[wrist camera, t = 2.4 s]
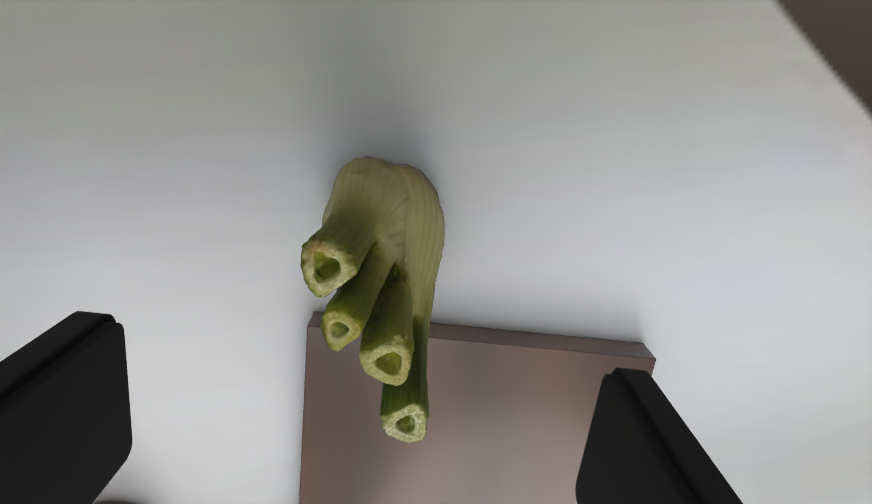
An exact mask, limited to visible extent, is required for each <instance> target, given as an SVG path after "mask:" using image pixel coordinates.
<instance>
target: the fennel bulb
mask: <svg viewBox="0 0 872 504" xmlns="http://www.w3.org/2000/svg"><path fill="white" fill-rule="evenodd" d="M443 246H444V217H443V211H442V208H441V206H440V204H439V199H438V195H437V192H436V189H435V188H434V186H433V184H432V183H431V182H430V181H429V180H428V178H427V177H426V176H425V175H424V174H423V173H422V172H421V171H420V170H418V169H416V168H413V167H411V166H409V165H404V164H400V165H394V164H389V163H387V162H386V161H384V160H382V159H380V158H374V157H368V156H366V157H362V158H357V159H354V160H353V161H351V162H349V163H347V164H346V165H344V166H343V167H342V168H341V170H340V171H339V173H338V175H337V177H336V180H335V183H334V186H333V190H332V194H331V197H330V199H329V201H328V204H327V206H326V208H325V211H324V215H323V219H322V228H321V229H320V230H318V231H317V232H316V233H315V234H314V235H313V236H311V237H310V238H309V240H308V241H307V242H305V243H304V244H303V246H302V248H303V249H302V253H301V269H302V272H303V275H304V281H305V282H306V284H307V285H308V288H309V290H311V291H312V292H313V294H315V295H316V296H317V297H325V296H328V295H329V294H330V293H331V292H332V291H333V290H335V289H336V288H337V292H336V293H335V295H334V296H333V298H332V299H331V300H330V302H329V303H328V304H327V306H326V311H325V312H324V314H323V316H322V319H321V332H322V335H323V337H324V340H325V342H326V344H327V346H328V347H329V348H331V349H332V350H335V351H339V350H341V349H342V348H343V347H344V346H346V345H347V344H349V343H350V342H352V341H353V340H355V339H356V338H357V337H359V336H360V334H361V333H362V336H361V343H360V350H359V352H360V353H359V358H360V362H361V365H362V367H363V369H364V371H365V372H366V374H368V375H369V376H372V377H373V378H375V379H377V380H379V381H382V382H383V387H382V398H381V407H380V417H381V421H382V429H383V430H384V432H385V433H386V434H387V435H388V436H391V437H394V438H395V439H397V440H399V441H402V442H406V443H414V442H417V441H421V440H423V439H424V438H425V435H426V432H427V419H428V418H429V400H428V382H427V345H428V333H429V325H430V318H431V312H432V306H433V299H434V291H435V281H436V277H437V273H438V268H439V264H440V261H441V257H442V249H443Z"/></svg>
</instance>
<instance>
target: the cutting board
mask: <svg viewBox="0 0 872 504" xmlns="http://www.w3.org/2000/svg"><path fill="white" fill-rule="evenodd" d="M323 314H324V313H321V312H314V313H313V315H312V317H311V319H310V322H309V324H308V326H307V344H306V366H305V387H304V409H303V431H302V453H301V475H300V497H299V504H577V501H576V493H575V487H576V480H577V476H578V472H579V468H580V464H581V461H582V457H583V453H584V449H585V445H586V441H587V437H588V433H589V429H590V425H591V421H592V418H593V414H594V410H595V406H596V402H597V398H598V394H599V390H600V386H601V382H602V379H603V377H604V375H605V374H612V372H613V370H614V369H615V368H617V367H619V368H629V369H638V370H646V371H647V372H648V373H649V374H650V375H651V376H652V372H653V369H654V365H655V362H656V358H655V357H654V356H653V355H652V353H651V352H650V351H649V350H648V348H647V347H646V346H645V345H644V344H643V343H633V342H622V341H612V340H601V339H591V338H581V337H570V336H560V335H549V334H539V333H529V332H518V331H508V330H497V329H487V328H477V327H466V326H456V325H445V324H435V323H430V325H429V333H428V345H427V382H428V400H429V418H428V419H427V432H426V435H425V438H424V439H423V440H421V441H417V442H414V443H406V442H402V441H399V440H397V439H395V438H394V437H391V436H388V435H387V434H386V433H385V432H384V430H383V429H382V421H381V417H380V407H381V398H382V387H383V382H382V381H379V380H377V379H375V378H373V377H372V376H369V375H368V374H366V372H365V371H364V369H363V367H362V365H361V362H360V358H359V353H360V352H359V350H360V343H361V336H362V333H361V334H360V336H359V337H357V338H356V339H355V340H353V341H352V342H350V343H349V344H347V345H346V346H344V347H343V348H342V349H341V350H339V351H335V350H332V349H331V348H329V347H328V346H327V344H326V342H325V340H324V337H323V335H322V332H321V319H322V316H323Z"/></svg>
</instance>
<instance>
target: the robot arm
mask: <svg viewBox="0 0 872 504" xmlns="http://www.w3.org/2000/svg"><path fill="white" fill-rule="evenodd" d="M131 447H132V428H131V415H130V402H129V389H128V375H127V362H126V349H125V336H124V328H123V326H122V324H120V323H116V320H115V319H114V317H113V316H112V315H110V314H101V313H92V312H82V311H77V312H75V313H73V314H71V315H70V316H68V317H67V318H65V319H64V320H62V321H61V322H59V323H58V324H56V325H55V326H53V327H52V328H50V329H49V330H47V331H46V332H44V333H43V334H41V335H40V336H38V337H37V338H35V339H34V340H32V341H31V342H29V343H28V344H26V345H25V346H23V347H22V348H20V349H19V350H17V351H16V352H14V353H13V354H11V355H10V356H8V357H7V358H5V359H4V360H3V361H1V362H0V504H92V503H93V502H94V500H95V499H96V498H97V497H98V495H99V494H100V493H101V491H102V490H103V489H104V488H105V486H106V485H107V484H108V483H109V481H110V480H111V479H112V478H113V476H114V475H115V474H116V472H117V471H118V470H119V469H120V467H121V466H122V465H123V464H124V462H125V461H126V459H127V458H128V456H129V453H130V450H131ZM575 493H576V501H577V504H743V503H742V502H741V500H740V499H739V498H738V496H737V495H736V493H735V492H734V491H733V489H732V488H731V486H730V485H729V484H728V482H727V481H726V479H725V478H724V477H723V475H722V474H721V473H720V471H719V470H718V468H717V467H716V466H715V464H714V463H713V461H712V460H711V459H710V457H709V456H708V454H707V453H706V452H705V450H704V449H703V448H702V446H701V445H700V443H699V442H698V441H697V439H696V438H695V436H694V435H693V434H692V432H691V431H690V430H689V428H688V427H687V425H686V424H685V423H684V421H683V420H682V418H681V417H680V416H679V414H678V413H677V411H676V410H675V409H674V407H673V406H672V405H671V403H670V402H669V400H668V399H667V398H666V396H665V395H664V393H663V392H662V391H661V389H660V388H659V386H658V385H657V384H656V382H655V381H654V380H653V378H652V377H651V375H650V374H649V373H648V372H647V371H646V370H638V369H629V368H619V367H617V368H615V369H614V370H613V372H612V374H605V375H604V377H603V379H602V382H601V386H600V390H599V394H598V398H597V402H596V406H595V410H594V414H593V418H592V421H591V425H590V429H589V433H588V437H587V441H586V445H585V449H584V453H583V457H582V461H581V464H580V468H579V472H578V476H577V480H576V487H575Z"/></svg>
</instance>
